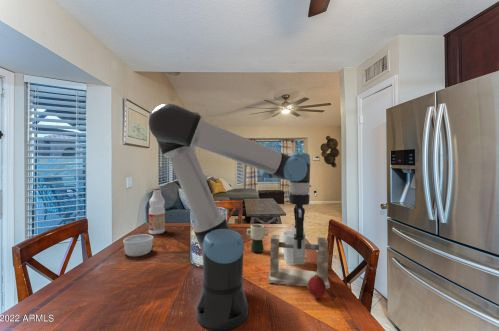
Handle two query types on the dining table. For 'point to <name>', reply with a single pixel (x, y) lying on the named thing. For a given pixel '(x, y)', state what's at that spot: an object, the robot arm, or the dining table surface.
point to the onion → (316, 286)
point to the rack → (297, 275)
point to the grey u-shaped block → (295, 259)
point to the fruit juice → (156, 212)
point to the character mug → (257, 236)
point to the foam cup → (288, 252)
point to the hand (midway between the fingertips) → (298, 252)
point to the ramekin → (138, 244)
